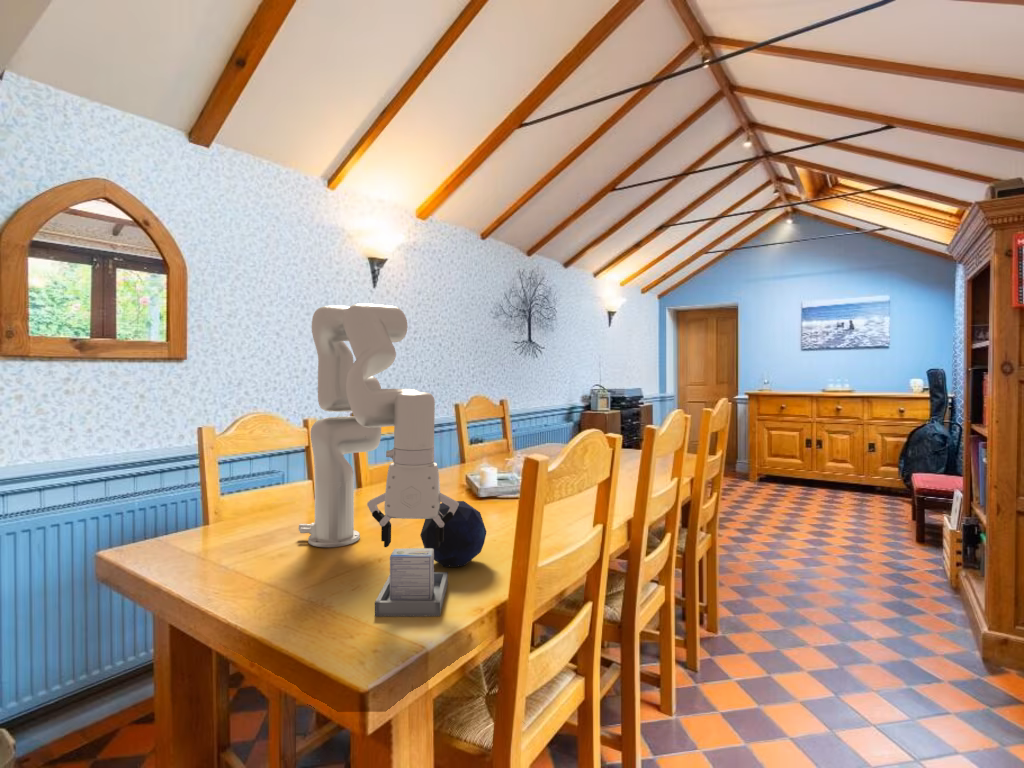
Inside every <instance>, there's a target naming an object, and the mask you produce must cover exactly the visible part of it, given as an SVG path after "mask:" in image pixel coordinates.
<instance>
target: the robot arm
mask: <svg viewBox="0 0 1024 768" xmlns="http://www.w3.org/2000/svg"><path fill="white" fill-rule="evenodd" d="M311 333H312V339H313V342H314V345H315V349H316V353H317V359H318V360H317V361H318V362H317V363H318V364H317V402H318V405H319V407H320V409H321V410H322V411H325V412H330V413H332V412H333V413H342V412H343V413H344V412H345V413H346V412H351V413H352V415H353V416H351V415H350V416H347V415H345V416H329V417H328V416H327V417H324V418H321V419H318V420H316V421H315V422H314V423H313V424H312V426H311V428H310V442H311V448H312V454H313V455H312V456H313V464H314V465H313V466H314V468H313V469H314V522H311V523H309V524H308V523H299V524H298V532H299V533H300V534H309V536H308V538H307V542H308V544H309V545H310V546H313V547H317V548H337V547H344V546H348V545H351V544H354V543H356V542H358V541H359V540H360V538H361V536H360V535H361V534H360V532H359V531H357V530H355V529H354V525H355V523H354V522H355V520H354V518H355V516H354V514H355V511H354V505H355V502H354V500H355V499H354V498H355V494H354V493H355V492H354V491H355V490H354V489H355V487H354V485H355V484H354V482H355V481H354V480H355V478H354V477H355V476H354V469H353V467H352V464H350V463H349V461H348V460H347V458H345V456H344V455H347V454H355V453H356V454H357V453H365V452H371V451H374V450H376V449H377V448H379V445H380V443H381V440H382V439H381V438H382V427H383V428H385V427H386V428H387V427H393V428H394V429H393V448H392V449H390V450H389V449H387V450H386V452H385V457H386V458H390V459H392V463H389V466H388V470H387V476H386V481H385V482H386V483H385V492H384V493H383V494H380V495H378V496H376V497H374V498H372V499H370V500H369V501H367V503H366V505H367V508H368V509H369V511H370V513H371V516H372V517H373V518H374V520H376V522H377V523H378V525H379V527H381V533H380V536H381V537H380V539H381V540H380V541H381V542H383V547H384V548H388V547H389V546H390V544H391V542H392V523H391V521H390V520H391V519H402V520H403V519H404V520H405V519H410V520H411V519H412V520H417V519H418V520H425V519H431V518H432V519H433V520H434V521H435V522H436V523H437V525H436V528H435V547H436V548H439V546H440V542H443V541H444V525H445V524H446V523H447V522H448V521H449V520H450V519H451V518H452V517H453V515H454V513H455V511H456V510H457V508H458V505H459V503H458V502H457V501H458V500H455V499H454V498H451V497H450V496H447V495H445V494H444V493H442V492H441V483H440V474H439V467H438V464H437V462H435V460H434V459H435V413H436V412H435V411H436V410H435V409H436V407H435V405H436V404H435V403H436V402H435V398H434V395H433V394H431V393H429V392H425V391H419V390H418V389H415V388H414V389H413V388H382V387H381V383H380V381H379V380H378V379H377V377H375V375H378V374H380V373H382V372H384V371H386V370H387V369H389V368H390V367H391V366H392V365H393V364H394V362H395V359H396V357H397V351H396V348H395V346H394V344H393V343H398V342H402V340H404V339H405V337H406V335H407V333H408V320H407V317H406V315H405V313H404V311H403V310H402V309H401V308H400V307H397V306H394V305H387V304H374V303H355V304H352V305H350V306H347V305H325V306H320V307H318V308H317V309H316V310H315V311H314V312H313V316H312V319H311ZM345 342H349V344H350V347H351V350H352V351H351V350H350V347H349V346H348V345H347V344H346V343H345ZM354 358H355V360H354ZM383 503H384V513H383V512H382V511H381V510H380V509H379V508H378V507H379V506H378V505H380V504H383ZM441 503H444V504H446V505H448V506H449V507H450V509H449V511H448V512H447V513H446V514H445V515H444V516H443V515H442V514H441V512H440V511H439V509H440V504H441Z"/></svg>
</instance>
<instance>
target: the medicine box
mask: <svg viewBox="0 0 1024 768" xmlns="http://www.w3.org/2000/svg"><path fill="white" fill-rule="evenodd" d="M434 566H435V560H434V549H432V548H424V547H423V548H421V547H420V548H419V547H417V548H410V547H409V548H394V549H393V550H392V552H391V554H390V556H389V575H390V601H398V600H432V596H433V592H434V572H435V568H434Z"/></svg>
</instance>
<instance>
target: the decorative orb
mask: <svg viewBox="0 0 1024 768" xmlns="http://www.w3.org/2000/svg"><path fill="white" fill-rule="evenodd" d="M456 501H457V502H458V503H459V505H458V508H457V510H456V511H455V513H454V515H453V517H452V518H451V519H450V520H449V521H448V522H447V523H446V524H445V525H444V541H443V542H440V546H439V548H436V547H435V528H436V525H437V523H436V522H435V521H434V520H433V519H432V518H431V519H424V522H423V525H422V528H421V531H420V539H421V541H422V545H423V548H432V549H434V562H436V563H438V564H439V565H440V566H442V567H443V568H447V567H448V568H449V567H450V568H454V567H464V566H466V565H467V564H468V563H470V562H471V561H472V560H473V559H474V558H476V557H477V556H478V555H480V553H481V552H482V549H483V547H484V544H485V541H486V537H487V529H486V526H485V523H484V519H483V518H482V514H481V512H480V511H479V510H477V509H476V508H474V507H473V506H472V505H470V504H468V503H467V502H466V501H464V500H456ZM449 509H450V507H449V506H448V505H446V504H444V503H442V502H440V509H439V511H440V512H441V514H442V515H443V516H444V515H445V514H446V513H447V512H448V511H449Z"/></svg>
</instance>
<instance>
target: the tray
mask: <svg viewBox="0 0 1024 768" xmlns="http://www.w3.org/2000/svg"><path fill="white" fill-rule="evenodd" d="M448 579H449V572H448V571H434V592H433V596H432V600H398V601H390V574H388V577H387V579H386V581H385V582H384V584H383V586H382V588H381V590H380V591H379V594H378V595H377V597H376V599H375V601H374V617H441V614H442V608H443V606H444V602H445V597H446V593H447V588H448V585H449V584H448V583H449V580H448Z"/></svg>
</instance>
